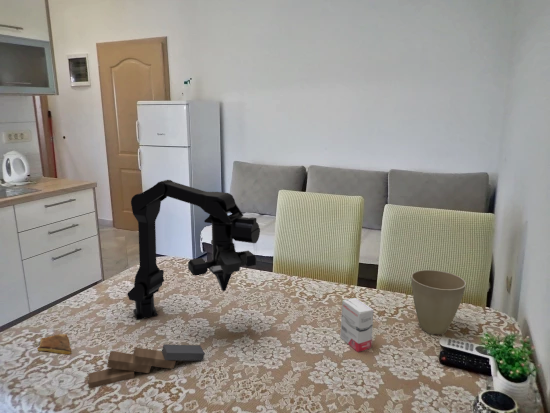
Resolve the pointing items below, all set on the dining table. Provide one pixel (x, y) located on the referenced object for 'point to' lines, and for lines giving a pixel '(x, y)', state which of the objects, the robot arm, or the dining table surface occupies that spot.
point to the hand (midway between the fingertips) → (223, 290)
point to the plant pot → (436, 298)
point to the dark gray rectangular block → (182, 352)
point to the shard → (55, 344)
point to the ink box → (356, 324)
